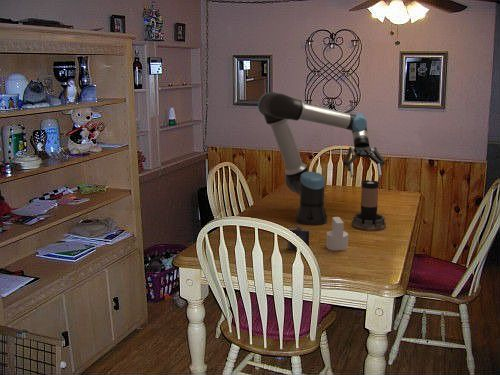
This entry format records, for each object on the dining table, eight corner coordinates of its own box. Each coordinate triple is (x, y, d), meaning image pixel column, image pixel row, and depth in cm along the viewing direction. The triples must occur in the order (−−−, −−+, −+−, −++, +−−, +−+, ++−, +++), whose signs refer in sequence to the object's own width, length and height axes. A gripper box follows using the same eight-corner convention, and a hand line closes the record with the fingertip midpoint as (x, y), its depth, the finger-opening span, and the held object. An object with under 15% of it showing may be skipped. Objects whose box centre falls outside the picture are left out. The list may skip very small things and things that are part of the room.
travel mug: (366, 225, 257) (368, 184, 252) (356, 221, 264) (358, 180, 259) (379, 224, 260) (382, 182, 255) (370, 219, 267) (372, 179, 262)
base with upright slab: (324, 243, 238) (325, 217, 235) (345, 243, 238) (346, 216, 235) (328, 250, 229) (329, 223, 226) (349, 250, 229) (351, 223, 227)
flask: (286, 249, 231) (286, 225, 228) (288, 247, 233) (288, 223, 231) (308, 252, 228) (308, 227, 225) (309, 249, 231) (310, 225, 228)
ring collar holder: (367, 233, 251) (368, 223, 250) (344, 224, 265) (344, 215, 264) (393, 227, 260) (393, 218, 258) (369, 219, 273) (369, 210, 272)
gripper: (384, 145, 281) (389, 180, 270) (335, 145, 281) (339, 180, 270) (387, 136, 275) (393, 171, 264) (337, 136, 275) (341, 172, 263)
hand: (366, 176), depth 267 cm, fingers open, 13 cm apart
